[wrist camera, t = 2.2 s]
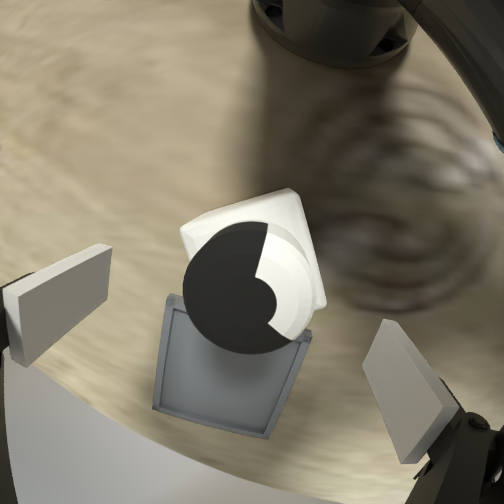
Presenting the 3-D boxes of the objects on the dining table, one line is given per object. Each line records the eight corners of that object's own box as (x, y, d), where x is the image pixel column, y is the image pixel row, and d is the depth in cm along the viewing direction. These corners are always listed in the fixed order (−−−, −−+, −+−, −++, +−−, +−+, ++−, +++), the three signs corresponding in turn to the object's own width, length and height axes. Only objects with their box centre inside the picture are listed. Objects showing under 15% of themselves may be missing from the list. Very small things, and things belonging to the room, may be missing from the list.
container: (230, 295, 28) (199, 383, 16) (203, 212, 27) (142, 247, 14) (314, 273, 27) (344, 351, 15) (291, 186, 26) (308, 197, 13)
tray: (170, 293, 29) (166, 298, 27) (311, 330, 28) (312, 336, 27) (155, 402, 32) (152, 409, 31) (268, 432, 32) (268, 439, 31)
